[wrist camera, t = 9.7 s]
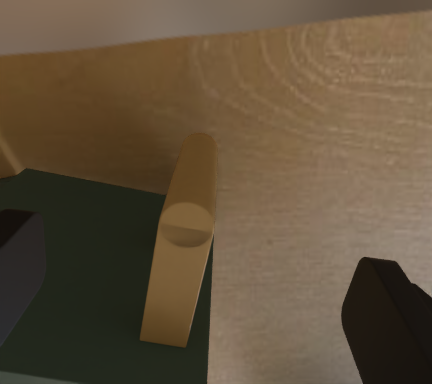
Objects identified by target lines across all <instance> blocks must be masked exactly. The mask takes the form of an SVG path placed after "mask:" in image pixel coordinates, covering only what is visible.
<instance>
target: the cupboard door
mask: <svg viewBox="0 0 432 384" xmlns="http://www.w3.org/2000/svg"><path fill="white" fill-rule="evenodd" d="M217 164H218V146H217V143H216V142H215V140H214V139H213V138H212V137H211V136H209V135H207V134H205V133H194V134H191V135H189V136H188V137H187V138H186V139H185V140H184V142H183V144H182V147H181V150H180V153H179V157H178V160H177V163H176V166H175V170H174V173H173V176H172V179H171V183H170V186H169V189H168V193H167V195H161V194H156V193H151V192H146V191H141V190H136V189H130V188H125V187H120V186H115V185H110V184H105V183H100V182H94V181H89V180H84V179H79V178H74V177H69V176H64V175H58V174H53V173H48V172H43V171H38V170H33V169H28V168H26V169H24V170H23V171H22V172H21V173H19V174H18V175H17V176H16V177H14V178H13V179H12V180H11V181H9V182H8V183H7V184H6V185H5V186H3V187H2V188H1V189H0V212H1V211H2V210H4V209H6V208H10V209H18V210H25V211H33V212H39V213H40V214H41V215H42V218H43V224H44V239H45V253H46V272H45V277H44V280H43V283H42V285H41V287H40V289H39V291H38V292H37V294H36V295H35V296H34V298H33V299H32V301H31V302H30V304H29V305H28V307H27V308H26V310H25V311H24V313H23V314H22V316H21V317H20V319H19V320H18V322H17V323H16V325H15V326H14V328H13V329H12V331H11V332H10V334H9V335H8V337H7V338H6V340H5V341H4V342H3V344H2V345H1V347H0V384H207V373H208V351H209V329H210V307H211V285H212V263H213V242H214V229H215V211H216V188H217Z"/></svg>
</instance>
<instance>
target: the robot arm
mask: <svg viewBox="0 0 432 384" xmlns="http://www.w3.org/2000/svg"><path fill="white" fill-rule="evenodd" d="M45 272H46V253H45V239H44V224H43V218H42V215H41V214H40V213H39V212H33V211H25V210H18V209H10V208H6V209H4V210H2V211H1V212H0V347H1V345H2V344H3V342H4V341H5V340H6V338H7V337H8V335H9V334H10V332H11V331H12V329H13V328H14V326H15V325H16V323H17V322H18V320H19V319H20V317H21V316H22V314H23V313H24V311H25V310H26V308H27V307H28V305H29V304H30V302H31V301H32V299H33V298H34V296H35V295H36V294H37V292H38V291H39V289H40V287H41V285H42V283H43V280H44V277H45ZM341 320H342V327H343V330H344V333H345V335H346V338H347V341H348V344H349V346H350V349H351V352H352V355H353V357H354V360H355V363H356V366H357V368H358V371H359V374H360V377H361V379H362V382H363V384H432V298H431V297H430V296H429V295H428V294H427V293H426V292H424V291H423V290H422V289H421V288H420V287H418V286H417V285H416V284H413V283H411V282H410V281H409V279H408V278H407V276H406V275H405V273H404V272H403V270H402V269H401V267H400V266H399V264H398V263H397V262H395V261H392V260H384V259H377V258H369V257H363V258H362V259H361V260H360V261H359V263H358V265H357V268H356V270H355V273H354V275H353V278H352V281H351V283H350V286H349V289H348V291H347V294H346V297H345V299H344V302H343V305H342V312H341Z"/></svg>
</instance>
